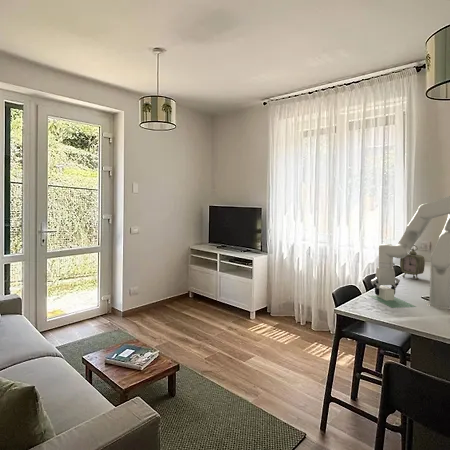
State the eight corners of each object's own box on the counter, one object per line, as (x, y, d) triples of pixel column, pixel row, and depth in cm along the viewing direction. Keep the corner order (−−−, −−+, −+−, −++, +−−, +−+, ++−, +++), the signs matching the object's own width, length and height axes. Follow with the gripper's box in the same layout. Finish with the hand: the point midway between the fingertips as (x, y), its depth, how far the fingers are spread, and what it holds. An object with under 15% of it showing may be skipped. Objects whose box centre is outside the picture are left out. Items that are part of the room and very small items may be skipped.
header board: (390, 296, 208) (390, 289, 208) (416, 308, 184) (416, 300, 184) (368, 297, 206) (368, 289, 206) (391, 310, 183) (392, 301, 182)
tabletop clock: (399, 277, 262) (400, 244, 260) (407, 275, 266) (408, 243, 265) (418, 280, 249) (419, 246, 248) (425, 279, 254) (426, 245, 252)
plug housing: (384, 295, 206) (384, 285, 206) (394, 300, 196) (394, 289, 196) (376, 295, 206) (376, 285, 205) (385, 300, 196) (386, 290, 195)
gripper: (395, 263, 205) (395, 292, 206) (368, 264, 203) (367, 293, 204) (403, 266, 197) (403, 295, 198) (375, 266, 195) (374, 296, 196)
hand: (385, 294), depth 201 cm, fingers open, 9 cm apart
